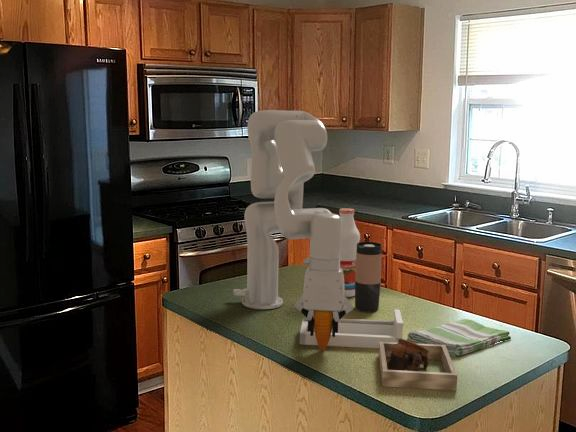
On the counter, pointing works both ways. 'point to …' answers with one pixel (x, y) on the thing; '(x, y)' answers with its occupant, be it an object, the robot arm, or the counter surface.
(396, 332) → the frame
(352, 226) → the fruit juice
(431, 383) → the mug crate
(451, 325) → the dish towel
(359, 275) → the travel mug
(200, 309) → the counter surface
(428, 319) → the counter surface
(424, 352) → the pottery mug
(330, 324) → the carrot
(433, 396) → the counter surface
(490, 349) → the counter surface
